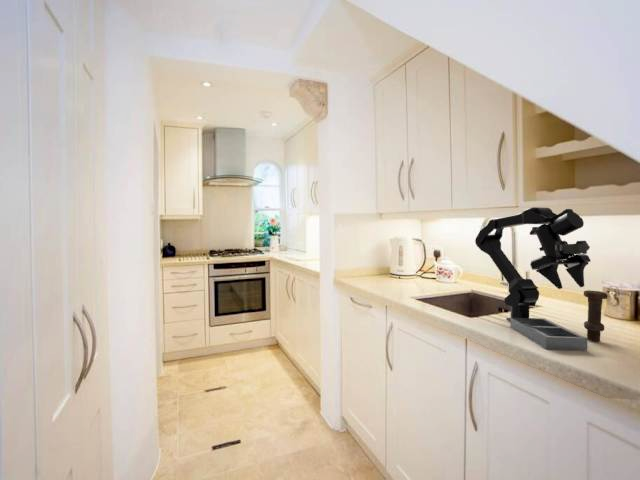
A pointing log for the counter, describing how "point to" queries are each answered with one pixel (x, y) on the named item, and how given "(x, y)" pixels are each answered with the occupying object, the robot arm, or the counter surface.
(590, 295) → the bolt
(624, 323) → the counter surface
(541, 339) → the grey divided tray
